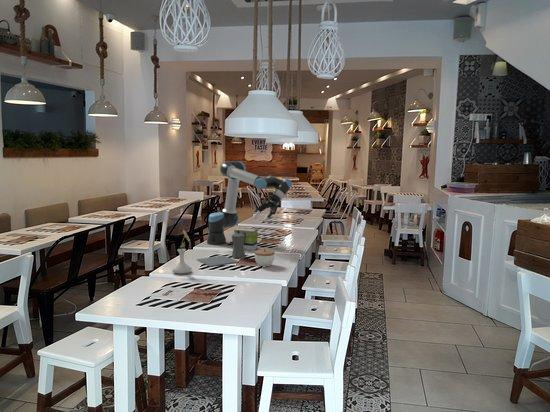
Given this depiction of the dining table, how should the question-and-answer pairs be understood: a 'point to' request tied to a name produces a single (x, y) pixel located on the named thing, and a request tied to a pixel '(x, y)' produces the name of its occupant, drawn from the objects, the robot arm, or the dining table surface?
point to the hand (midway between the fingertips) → (259, 219)
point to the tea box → (249, 238)
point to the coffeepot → (238, 245)
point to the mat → (217, 261)
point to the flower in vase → (182, 260)
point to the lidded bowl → (264, 257)
